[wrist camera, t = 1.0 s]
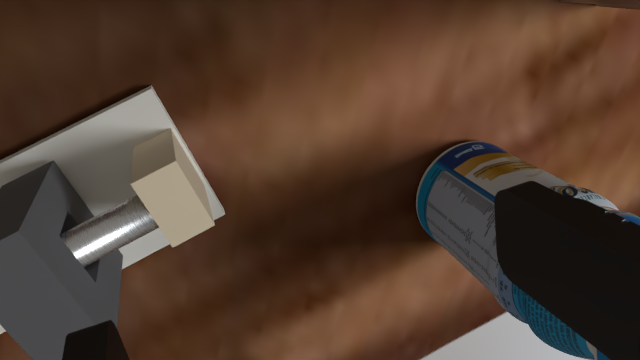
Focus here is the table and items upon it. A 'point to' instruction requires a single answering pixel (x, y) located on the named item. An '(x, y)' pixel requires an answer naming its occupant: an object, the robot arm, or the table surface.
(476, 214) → the blue canister
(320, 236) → the table surface
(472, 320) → the table surface
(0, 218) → the grey sliding block
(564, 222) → the robot arm
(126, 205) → the metal pipe
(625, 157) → the table surface
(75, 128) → the pipe stand
